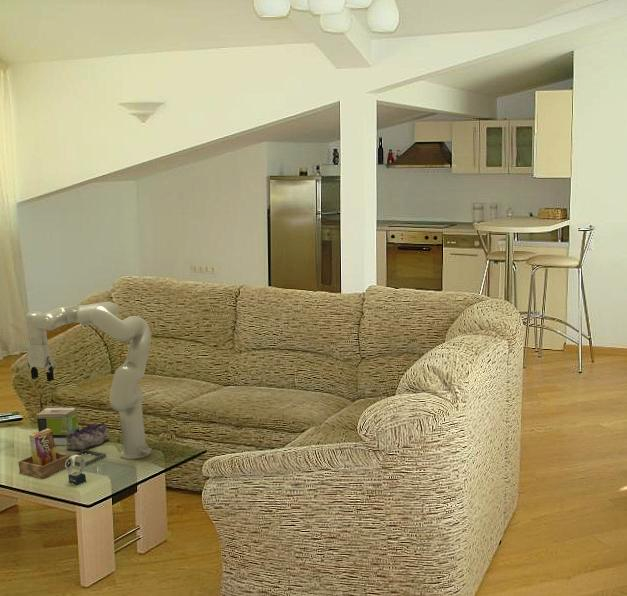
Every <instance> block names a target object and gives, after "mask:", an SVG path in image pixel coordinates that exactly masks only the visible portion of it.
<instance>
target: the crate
mask: <svg viewBox="0 0 627 596" xmlns="http://www.w3.org/2000/svg"><path fill="white" fill-rule="evenodd" d="M55 452H56V459H57V460H55V461H53V462H51V463H49V464H46V465H44V466H40V465H35V464H33V458H32V455H31V456H28V457H26V458H23V459H21V460H19V461H18V470H19V474H21V473H22V475H26V476H30V477H34V476H35V477H36V478H38V477H39V478H40V479H43V480H44V479H47V478H49V477H52V476H53V475H56V474H57V472H58V473H60V472H62V471H64V470H66V469H65V462H66V460H67V459H68V458H70V456H71V454H67V453H62V452H57V451H55ZM63 469H64V470H63ZM61 470H62V471H61ZM59 471H60V472H59ZM55 473H56V474H55ZM46 477H47V478H46Z"/></svg>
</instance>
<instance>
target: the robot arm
mask: <svg viewBox="0 0 627 596" xmlns="http://www.w3.org/2000/svg"><path fill="white" fill-rule="evenodd" d="M119 314H120V310H119V306H118V305H117V303H115V302H113V301H101V302H96V303H90V304H83V305H68V306H63V307H57V308H53V309H52V310H49V311H47V312H43V311H40V310H36V311H35V310H34V311H30V312H27V314H26V315H25V320H26V322H25V323H26V330H27V336H28V344H27V358H25V362H26V363H27V366H28V368H29V370H30V377H31V380H34V379H38V378H39V370H38V369H45V371H46V381H47V382H50V381H54V380H55V377H54V371H55V369H56V364H57V363H56V361H55V360H54V359H52V354H51V349H50V345H49V343H48V335H47V331H54V330H55V329H58V328H59V327H62V326H63V325H68V324H78V323H79V324H80V325H81V326H90V325H94V326H96V327H97V328H98V329H100V330H101V331H103V332H104V333H105V334H107V335H108V336H110V337H111V338H113V339H115V340H116V341H118V342H121V343H127V342H129V341H130V343H129V345H128V349H127V354H126V357H125V361H124V363H122V364H121V365H120V366H118V368H117V369H116V370H115V372H114V374H113V379H112V383H111V388H110V392H109V398H108V399H109V405H110V407H111V408H112V410H114V411H116V412H119V420H120V429H121V439H122V449H123V450H121V452H120V454H119V455H120V458H121V459H124V460H138V459H143V458H146V457H147V456H149V455H150V454H151V452H152V451H153V448H152V447H149V446H148V443H147V442H146V435H145V434H146V433H145V424H144V413H143V396H144V395H143V389H142V387H141V386H140V384H139V383H138V382H139V381H141V380H142V378H144V375H145V372H146V366H147V362H148V358H149V357H148V356H149V353H150V346H151V341H152V331H151V328H150V326H149V324H148V322H147V321H146V320H145V319H144V318H143V317H141V316H138V315H130V316H128V317H126V318H124V319H121V318H119Z"/></svg>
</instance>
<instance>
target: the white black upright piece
mask: <svg viewBox="0 0 627 596" xmlns="http://www.w3.org/2000/svg"><path fill="white" fill-rule="evenodd" d="M72 455H73V456H71V455H70V456H71V457H70V458H68V459H67V460H66V462H65V469H64V470H65V471H66V472H67V474H68V475H67V476H68V483H70V484H72V483H73V484H72V485H74V484H75V485H74V486H79V485H81V483H82V484H84V483H83V482H85V483H87V478H86V477H87V476H86V474H85V473H83V472H84V470H85V468H86V467H85V462H86V460H85V457H83V455H81V456H79V455H74V454H72ZM76 457H77V458H80V460H81V461H80V462H81V464H80V466H79V467H78V471H76V472H73V473H72V470H73V469H74V468H75V467H76V466H75V461H76V459H77V458H76Z"/></svg>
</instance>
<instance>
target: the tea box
mask: <svg viewBox="0 0 627 596" xmlns="http://www.w3.org/2000/svg"><path fill="white" fill-rule="evenodd" d="M43 409H44V410H43V411H42V410H41V412H40V411H39V412H40V413H39V412H38V413H37V414H36V420H37V427H38V432H39V431H42V430H45V429H51V430H52V432H53V438H54V445H55V446H66V443H67V440H66V437H67V435H69V434H71V432H73V431H77V430H80V427H79V419H78V411H77V407H46V408H43Z"/></svg>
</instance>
